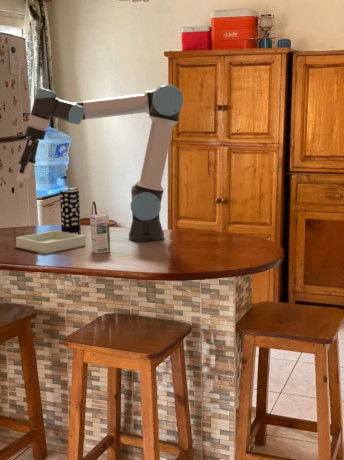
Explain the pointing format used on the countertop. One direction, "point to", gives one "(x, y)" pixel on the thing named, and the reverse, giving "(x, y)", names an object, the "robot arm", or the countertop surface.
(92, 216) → the syrup box
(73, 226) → the spotted tube
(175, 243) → the countertop surface
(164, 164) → the robot arm
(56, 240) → the tray
